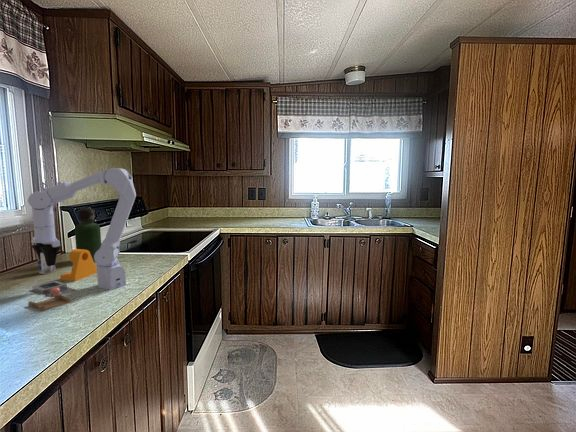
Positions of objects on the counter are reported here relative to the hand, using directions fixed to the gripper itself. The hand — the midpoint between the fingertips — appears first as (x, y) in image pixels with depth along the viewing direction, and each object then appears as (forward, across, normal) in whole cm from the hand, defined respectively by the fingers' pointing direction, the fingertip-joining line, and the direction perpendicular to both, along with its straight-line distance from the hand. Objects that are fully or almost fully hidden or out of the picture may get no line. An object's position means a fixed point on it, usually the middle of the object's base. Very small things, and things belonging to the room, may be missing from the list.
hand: (47, 264), depth 113 cm
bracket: (+10, -7, +13) cm, 18 cm away
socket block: (+10, +2, 0) cm, 10 cm away
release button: (+10, +6, -1) cm, 12 cm away
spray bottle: (+10, -31, +31) cm, 45 cm away
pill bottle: (+10, -27, +11) cm, 31 cm away
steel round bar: (+2, 0, 0) cm, 2 cm away
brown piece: (+10, +14, -7) cm, 19 cm away
